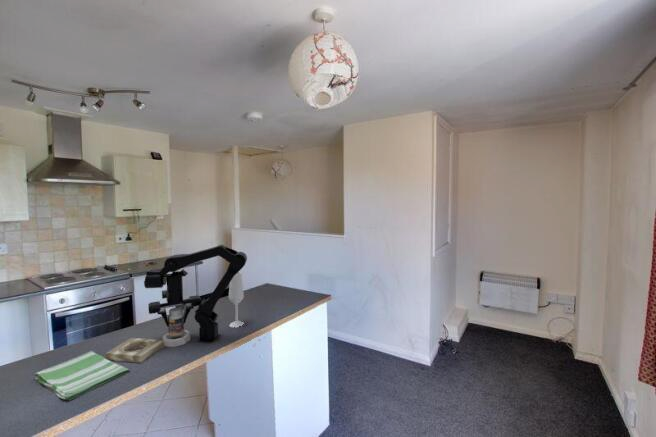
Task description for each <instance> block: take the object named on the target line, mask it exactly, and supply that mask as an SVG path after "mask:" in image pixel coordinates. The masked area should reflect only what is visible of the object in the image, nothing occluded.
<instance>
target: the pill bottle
mask: <svg viewBox="0 0 656 437" xmlns="http://www.w3.org/2000/svg"><path fill="white" fill-rule="evenodd" d="M182 312H183V308H182V307H171V308H170V309H169V310H168V314H169V315H167V319H168V330H167V333H169V335H171V336H177V335H180V334H182V333H183V332H184V330H185V323H184V313H182Z"/></svg>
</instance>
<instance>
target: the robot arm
mask: <svg viewBox="0 0 656 437" xmlns="http://www.w3.org/2000/svg"><path fill="white" fill-rule="evenodd" d="M215 257H220V258H222V259H223V260H225V261H226V262H227V263H229V264H228V266H227V269H226V272H225V273H224V274H223V276H222V277H221V279H220V281H219V282H218V284H217V285H216V287H215V288H214V290H213V291H212V293H211V294H210V296H209V297H208V298H207V299H204V298H203V299H202V298H201V297H200V295H197V294H196V295H191V296H189V297H188V299H184V288H183V287H184V286H183V277H186V276H187V275H188V271H186V270H185V268H184V267H187V266H188V265H191V264H193V263H194V264H195V263H197V262H201V261H202V262H203V261H205V260H209V259H212V258H215ZM247 260H248V256H247V254H246V253H245V252H243V251H237V250H235V249H233V248H229V247H228V246H226V245H224V244H219V245H216V246H213V247H210V248H207V249H202V250H199V251H196V252H192V253H182V254H181V253H179V254H174V255H171V256H169V258H167V259H166V260H165V261H164V264H163V267H162V268H161V270H148V271H146V274H145V276H144V277H145V278H144V281H143V284H144V285H143V286H144V288H145V289H163V287H164V286H165V285H166V289H165V290H161V299H162V300H163V299H166V302H164V303H161V302H160V301H159V300H157V301H152V302H149V303H148V314H149V315H151V314H157V315H161V317H162V318H163V320H164V322H165V324H166V326H167V327H168V315H167V311H166V308H167V309H168V308H175V307H179V306H180V307H181V306H183V316H184V324H186V321H187V320H188V315H189V313H190V312H191V310H192V309H194V307H196V309H195V311H194V313H195V314H194V320H195V322H197V324H198V325H199V327H198V328H199V329H198V330H199V332H198V334H199V339H197V341H198V342H204V343H213V342H215V341H216V340H218V338H219V337H220V336H221V334H220V333H219V322H216V321H217V320H218V317H219V315H218V313H216V311H214V310H215V308H216V305H217V303H218V301H219V300H220V298H221V297H222V295H223V294H224V293H225V290H226V289H227V287H229V285H230V281H231V280H232V278H233V277H234V276H235V275H236V274H237V273H238V272H241V270H242V269H243V268H244V267H245V265H246V263H247ZM179 270H180V271H179Z"/></svg>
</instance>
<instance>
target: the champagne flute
mask: <svg viewBox="0 0 656 437" xmlns="http://www.w3.org/2000/svg"><path fill="white" fill-rule="evenodd" d="M228 287H229V288H228V289H229V290H228V300H229V301H230V302H231V303H232V304H233V305H234V315H235V317H234V318H235V320H234V321H232V322H231V323H229V324H230V325H229V324H228V326H229V327H230V328H234V327H235V328H240V327H239V326H241V327H243V326H244V325H245V322H243V321H241V320H239V307H238V306H239V304H240V303H241V301H243V299H244V295H245V294H244V286H243V277H242V272H241V271H239V272H238V273H237V274H236V275H235V276H234V277H233V278H232V280H231V281H230V283H229V284H228ZM243 324H244V325H243ZM242 325H243V326H242Z"/></svg>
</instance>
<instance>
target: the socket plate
mask: <svg viewBox="0 0 656 437" xmlns="http://www.w3.org/2000/svg"><path fill="white" fill-rule="evenodd" d="M164 347H165V346H164V340H163V339H151V338H150V339H149V338H140V337H139V338H138V337H131V338H129V339H128V340H125V341H124V342H122V343H120V344H118V345H117V346H115V347H114V348H112V349H110V350H108V351H107V352H105V358H106V359H107V360H109V361H117V362H128V363H139V364H142V363H143V362H145V361H146V360H148V359H149V358H151V356H153V355H154V354H156V353H157V352H158V351H160V350H162V349H163V348H164ZM140 348H142V349H140ZM136 349H137V350H136ZM133 350H134V351H133Z"/></svg>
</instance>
